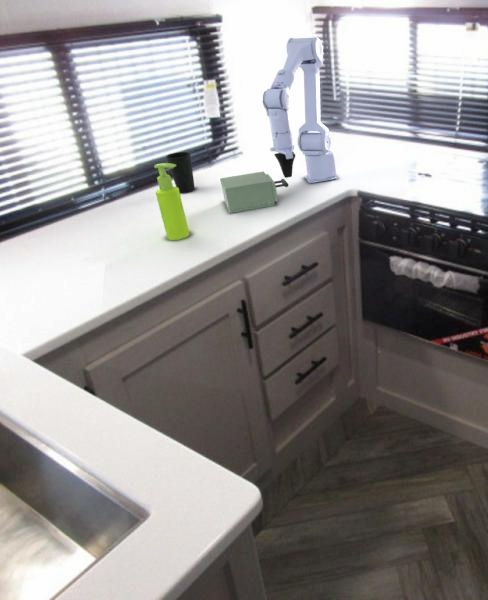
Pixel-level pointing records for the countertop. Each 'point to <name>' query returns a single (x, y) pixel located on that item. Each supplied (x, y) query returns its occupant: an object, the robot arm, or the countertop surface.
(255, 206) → the cabinet
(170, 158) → the cup
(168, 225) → the soap dispenser
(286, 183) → the drawer
